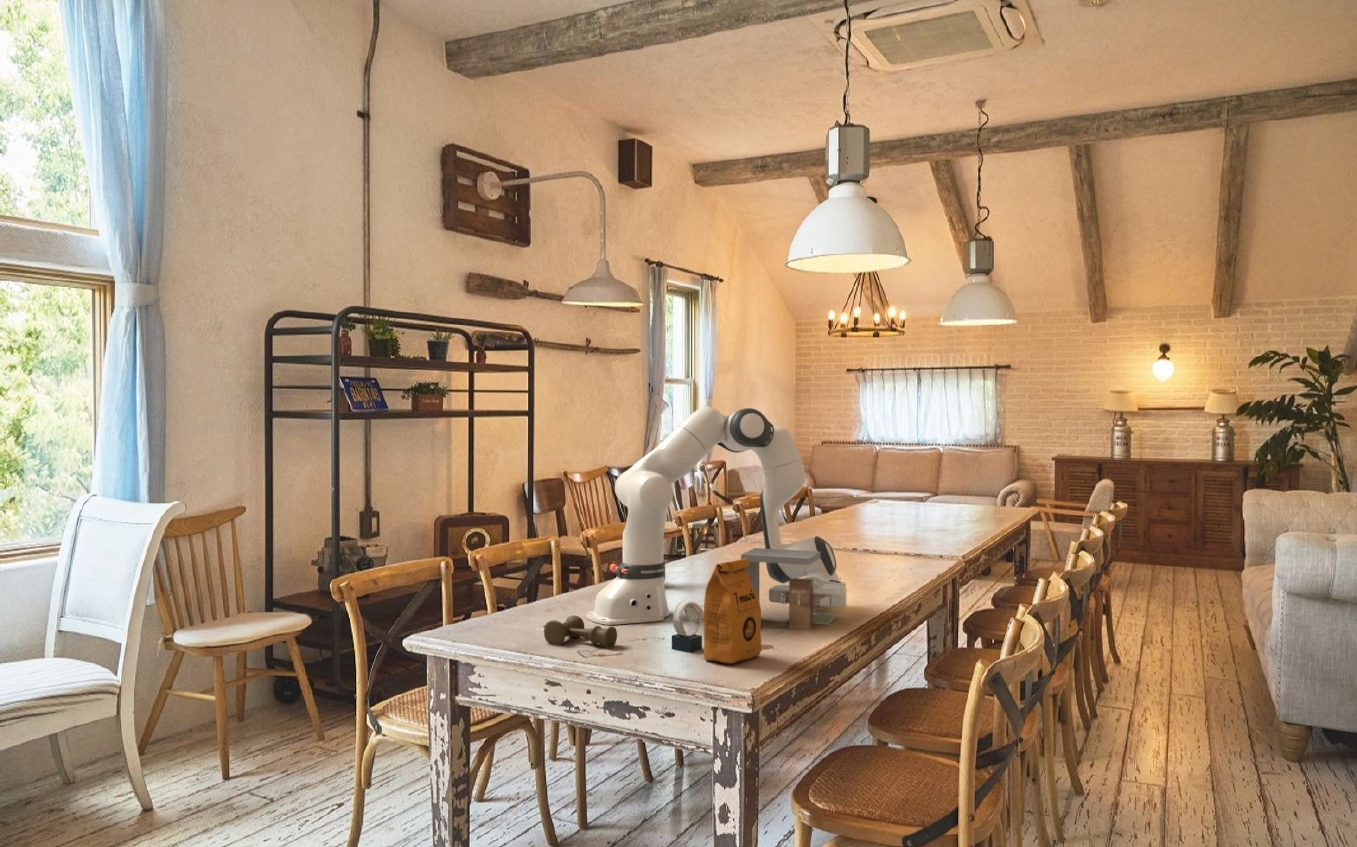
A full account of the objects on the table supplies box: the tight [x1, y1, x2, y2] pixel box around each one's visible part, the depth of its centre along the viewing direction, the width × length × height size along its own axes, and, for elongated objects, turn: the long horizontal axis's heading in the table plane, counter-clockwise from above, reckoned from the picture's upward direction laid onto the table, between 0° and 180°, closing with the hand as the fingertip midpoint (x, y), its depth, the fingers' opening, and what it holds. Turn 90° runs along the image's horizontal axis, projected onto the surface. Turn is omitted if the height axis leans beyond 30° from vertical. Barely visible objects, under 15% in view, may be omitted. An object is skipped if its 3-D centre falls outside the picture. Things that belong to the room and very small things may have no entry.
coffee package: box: [703, 558, 762, 664], centre depth 210 cm, size 10×12×22 cm
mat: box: [785, 611, 838, 625], centre depth 250 cm, size 11×11×1 cm
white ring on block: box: [671, 600, 704, 654], centre depth 219 cm, size 6×8×11 cm
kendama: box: [543, 615, 618, 649], centre depth 225 cm, size 6×10×20 cm
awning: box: [740, 547, 820, 599], centre depth 242 cm, size 12×18×19 cm
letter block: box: [788, 577, 814, 631], centre depth 240 cm, size 5×5×12 cm
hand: (800, 601), depth 240 cm, fingers open, 8 cm apart
